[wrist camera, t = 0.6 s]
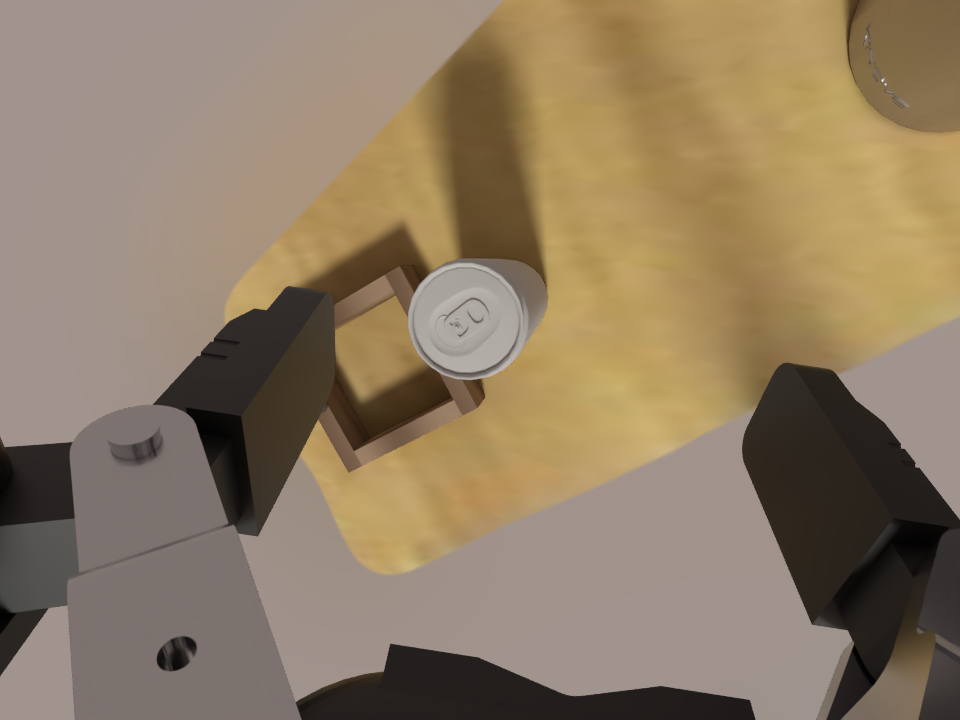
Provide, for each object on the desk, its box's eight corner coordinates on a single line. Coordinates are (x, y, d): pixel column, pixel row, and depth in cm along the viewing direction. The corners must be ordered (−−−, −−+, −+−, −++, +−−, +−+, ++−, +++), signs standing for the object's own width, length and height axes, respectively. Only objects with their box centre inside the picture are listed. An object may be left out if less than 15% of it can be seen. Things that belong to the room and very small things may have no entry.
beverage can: (450, 291, 34) (379, 308, 23) (516, 240, 33) (476, 231, 21) (498, 356, 34) (453, 407, 23) (565, 309, 33) (553, 336, 22)
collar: (412, 265, 34) (398, 265, 32) (485, 397, 35) (476, 408, 32) (293, 336, 37) (270, 342, 34) (362, 459, 37) (346, 474, 35)
